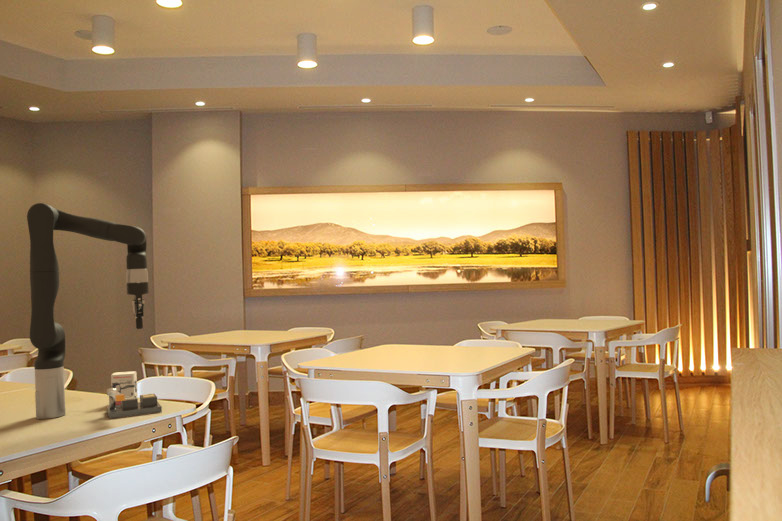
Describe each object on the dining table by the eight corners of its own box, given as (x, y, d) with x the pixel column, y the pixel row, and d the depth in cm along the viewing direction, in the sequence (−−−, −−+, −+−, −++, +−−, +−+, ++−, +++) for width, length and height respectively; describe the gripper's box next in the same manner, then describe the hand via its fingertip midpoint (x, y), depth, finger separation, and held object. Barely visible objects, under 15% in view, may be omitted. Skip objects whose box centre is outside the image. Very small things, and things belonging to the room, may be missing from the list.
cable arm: (106, 394, 236) (106, 389, 236) (116, 393, 237) (115, 387, 238) (115, 401, 221) (115, 395, 221) (125, 400, 223) (125, 394, 223)
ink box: (111, 405, 253) (110, 374, 253) (115, 403, 257) (113, 372, 258) (135, 404, 254) (133, 372, 254) (138, 401, 259) (136, 371, 259)
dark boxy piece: (109, 418, 228) (108, 399, 228) (107, 411, 241) (106, 393, 241) (161, 412, 236) (160, 393, 236) (156, 405, 248) (155, 387, 248)
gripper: (125, 282, 250) (126, 328, 250) (128, 281, 238) (130, 330, 238) (146, 281, 253) (148, 326, 253) (150, 280, 242) (152, 328, 241)
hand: (139, 328), depth 246 cm, fingers closed
